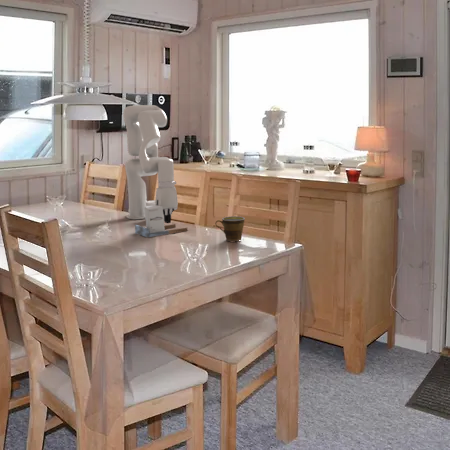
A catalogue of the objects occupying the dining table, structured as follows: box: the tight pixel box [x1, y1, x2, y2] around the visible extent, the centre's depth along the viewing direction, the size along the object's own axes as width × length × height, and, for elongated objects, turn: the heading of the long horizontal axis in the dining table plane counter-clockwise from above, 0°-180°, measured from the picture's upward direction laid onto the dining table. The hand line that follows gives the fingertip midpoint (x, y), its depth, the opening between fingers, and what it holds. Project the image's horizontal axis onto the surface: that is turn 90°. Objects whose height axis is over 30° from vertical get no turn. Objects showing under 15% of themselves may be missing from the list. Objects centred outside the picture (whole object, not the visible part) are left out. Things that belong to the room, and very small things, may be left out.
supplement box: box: [145, 205, 166, 233], centre depth 291 cm, size 7×7×13 cm
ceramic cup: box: [215, 216, 245, 242], centre depth 274 cm, size 13×10×10 cm
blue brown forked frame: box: [134, 223, 189, 238], centre depth 295 cm, size 12×22×4 cm, turn 126°
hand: (167, 222), depth 296 cm, fingers closed
